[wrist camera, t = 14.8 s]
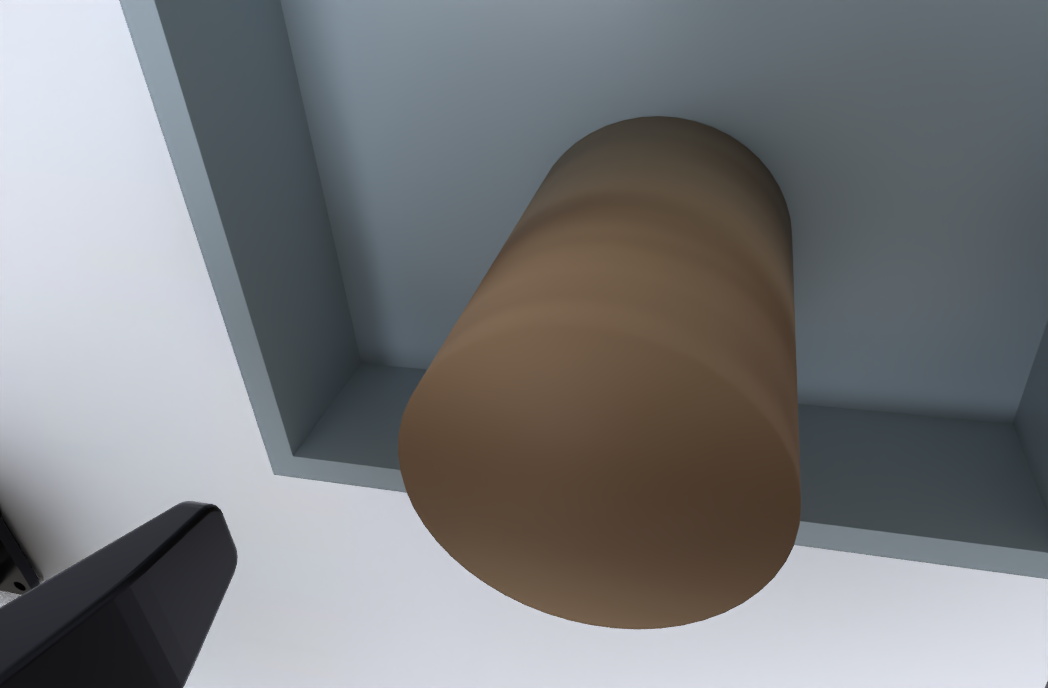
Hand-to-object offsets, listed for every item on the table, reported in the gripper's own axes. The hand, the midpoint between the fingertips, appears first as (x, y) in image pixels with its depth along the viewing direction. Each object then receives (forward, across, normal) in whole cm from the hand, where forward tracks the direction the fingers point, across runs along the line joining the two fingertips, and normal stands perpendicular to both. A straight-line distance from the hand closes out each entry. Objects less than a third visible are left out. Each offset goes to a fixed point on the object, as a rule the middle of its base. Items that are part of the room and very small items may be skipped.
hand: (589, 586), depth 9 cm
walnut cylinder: (+8, 0, 0) cm, 9 cm away
